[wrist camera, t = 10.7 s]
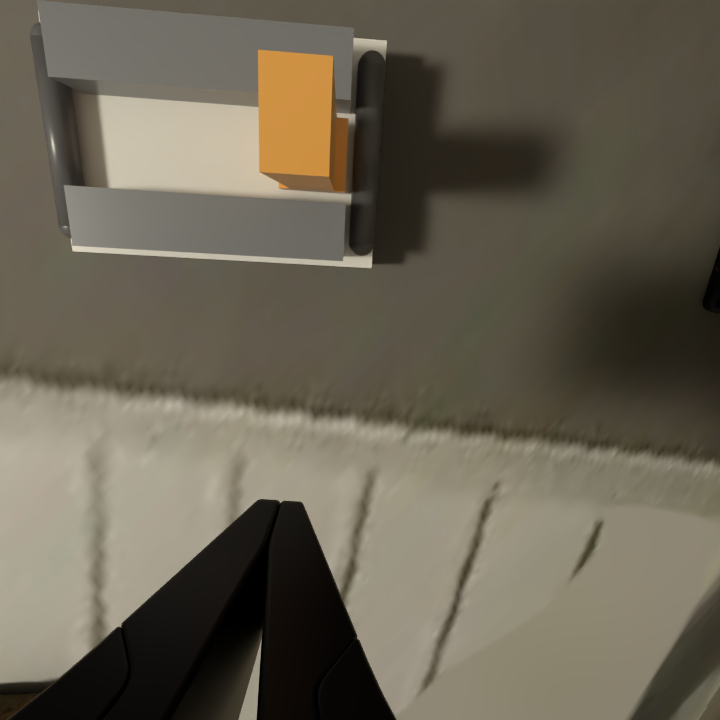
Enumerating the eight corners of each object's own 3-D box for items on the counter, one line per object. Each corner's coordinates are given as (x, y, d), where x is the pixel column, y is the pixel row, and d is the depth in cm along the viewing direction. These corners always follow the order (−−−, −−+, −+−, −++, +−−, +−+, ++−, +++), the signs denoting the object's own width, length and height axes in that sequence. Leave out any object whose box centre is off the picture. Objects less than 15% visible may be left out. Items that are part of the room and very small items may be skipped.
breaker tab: (348, 124, 16) (351, 58, 9) (344, 193, 17) (346, 178, 10) (282, 119, 16) (238, 47, 9) (282, 189, 17) (241, 171, 10)
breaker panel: (383, 55, 17) (393, 15, 13) (369, 264, 19) (375, 274, 16) (64, 29, 16) (-8, -20, 13) (93, 248, 19) (39, 255, 15)
